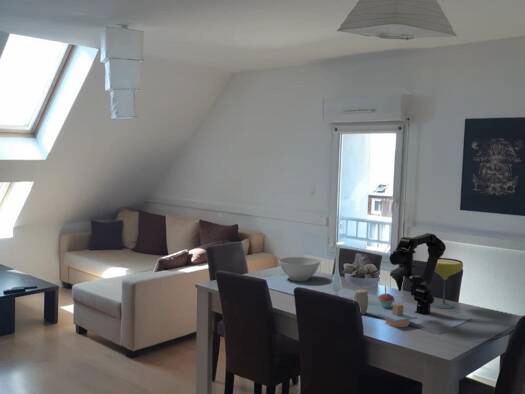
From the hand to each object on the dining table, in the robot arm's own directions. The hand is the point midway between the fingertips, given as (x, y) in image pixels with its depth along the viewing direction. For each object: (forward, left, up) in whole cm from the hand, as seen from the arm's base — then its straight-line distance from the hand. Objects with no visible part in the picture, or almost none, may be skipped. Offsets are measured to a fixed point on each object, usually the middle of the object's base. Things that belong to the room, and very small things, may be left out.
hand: (405, 293), depth 277 cm
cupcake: (-5, -21, -13) cm, 25 cm away
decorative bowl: (+5, -97, -13) cm, 98 cm away
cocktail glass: (-35, -9, -13) cm, 38 cm away
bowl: (+10, +6, -13) cm, 17 cm away
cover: (+10, +6, -9) cm, 15 cm away
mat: (-2, +18, -13) cm, 22 cm away
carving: (+15, -17, -13) cm, 26 cm away
